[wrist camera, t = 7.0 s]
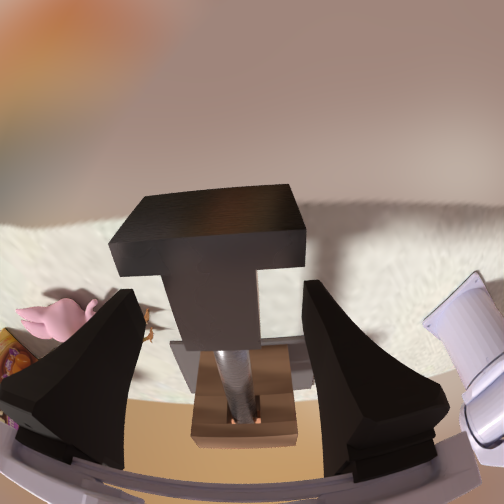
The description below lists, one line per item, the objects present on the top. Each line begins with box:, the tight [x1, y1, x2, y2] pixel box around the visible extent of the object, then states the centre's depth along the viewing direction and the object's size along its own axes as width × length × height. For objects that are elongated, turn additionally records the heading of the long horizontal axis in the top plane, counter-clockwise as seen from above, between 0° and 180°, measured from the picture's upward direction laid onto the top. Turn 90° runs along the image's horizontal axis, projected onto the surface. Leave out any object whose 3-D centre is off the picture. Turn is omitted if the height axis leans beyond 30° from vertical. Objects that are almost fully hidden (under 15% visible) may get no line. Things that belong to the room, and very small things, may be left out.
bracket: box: [191, 344, 298, 449], centre depth 23 cm, size 3×8×9 cm, turn 94°
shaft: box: [108, 184, 306, 424], centre depth 16 cm, size 18×7×4 cm, turn 4°
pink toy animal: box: [16, 298, 155, 343], centre depth 22 cm, size 6×6×15 cm
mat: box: [170, 336, 313, 393], centre depth 28 cm, size 10×14×1 cm
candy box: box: [0, 328, 38, 430], centre depth 23 cm, size 9×4×15 cm, turn 28°
